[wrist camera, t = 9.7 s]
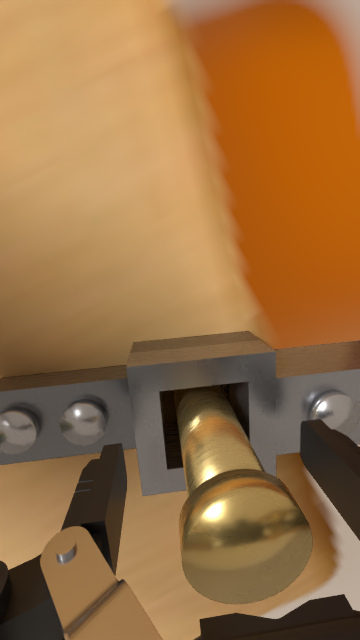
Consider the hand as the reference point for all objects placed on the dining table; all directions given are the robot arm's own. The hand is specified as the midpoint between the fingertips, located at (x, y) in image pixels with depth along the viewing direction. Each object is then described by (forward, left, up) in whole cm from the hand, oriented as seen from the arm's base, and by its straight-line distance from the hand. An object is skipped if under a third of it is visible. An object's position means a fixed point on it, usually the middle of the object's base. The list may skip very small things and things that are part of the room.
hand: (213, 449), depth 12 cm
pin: (0, 0, -6) cm, 6 cm away
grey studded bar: (0, 0, -6) cm, 6 cm away
